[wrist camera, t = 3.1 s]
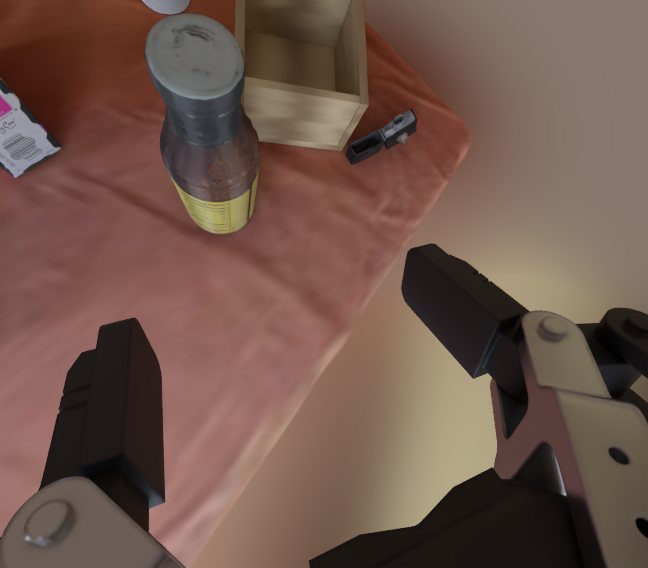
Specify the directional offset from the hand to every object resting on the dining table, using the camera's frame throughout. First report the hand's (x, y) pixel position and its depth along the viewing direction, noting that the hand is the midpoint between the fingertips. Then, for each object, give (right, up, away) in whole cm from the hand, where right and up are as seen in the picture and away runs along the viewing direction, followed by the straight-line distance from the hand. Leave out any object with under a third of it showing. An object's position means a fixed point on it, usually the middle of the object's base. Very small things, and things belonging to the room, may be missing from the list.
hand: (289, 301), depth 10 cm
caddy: (-3, +22, +27) cm, 35 cm away
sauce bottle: (-9, +8, +23) cm, 26 cm away
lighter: (+7, +16, +29) cm, 34 cm away
